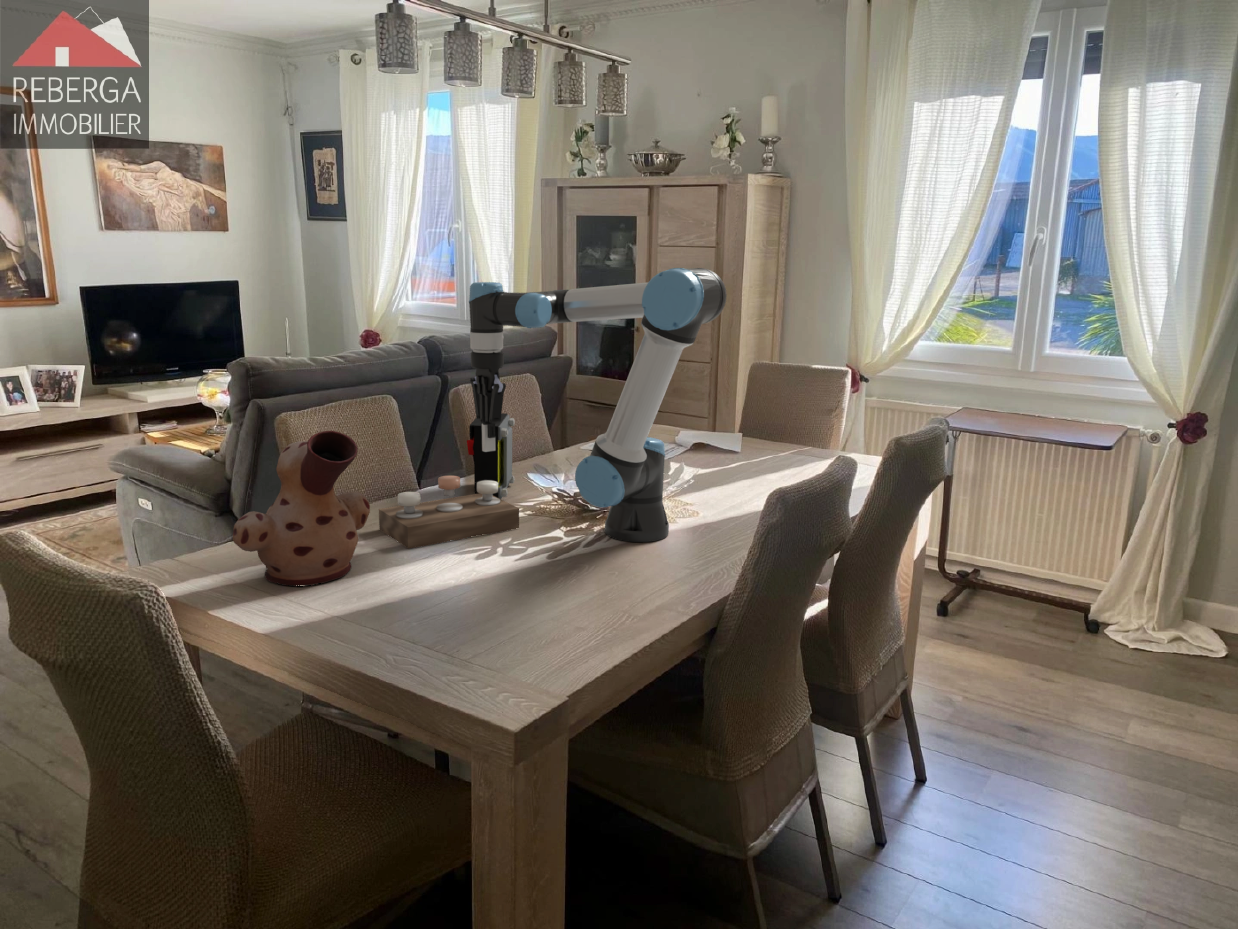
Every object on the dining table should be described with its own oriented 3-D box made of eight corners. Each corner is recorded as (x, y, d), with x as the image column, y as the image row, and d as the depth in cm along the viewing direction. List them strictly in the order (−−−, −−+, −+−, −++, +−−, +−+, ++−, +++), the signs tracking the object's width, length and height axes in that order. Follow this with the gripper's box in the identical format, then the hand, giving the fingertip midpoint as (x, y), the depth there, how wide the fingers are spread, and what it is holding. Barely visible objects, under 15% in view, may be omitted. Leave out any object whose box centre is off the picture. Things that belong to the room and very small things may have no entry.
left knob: (424, 512, 209) (424, 495, 208) (403, 516, 206) (403, 498, 205) (415, 507, 212) (414, 490, 212) (394, 510, 210) (394, 493, 209)
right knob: (501, 500, 220) (501, 484, 219) (483, 503, 217) (483, 486, 216) (491, 495, 224) (491, 479, 223) (473, 498, 221) (473, 482, 220)
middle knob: (464, 496, 214) (463, 479, 213) (444, 499, 211) (444, 482, 210) (454, 491, 218) (454, 474, 217) (434, 493, 215) (434, 477, 214)
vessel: (332, 545, 203) (326, 411, 196) (408, 566, 192) (404, 424, 185) (217, 584, 179) (205, 433, 171) (296, 610, 168) (287, 450, 160)
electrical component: (506, 502, 240) (506, 426, 235) (467, 500, 240) (466, 425, 235) (515, 484, 257) (515, 413, 252) (478, 483, 257) (478, 412, 252)
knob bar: (519, 528, 218) (519, 506, 217) (408, 548, 202) (407, 525, 201) (486, 511, 231) (486, 490, 229) (379, 529, 214) (378, 506, 213)
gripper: (515, 352, 209) (516, 453, 215) (487, 346, 220) (489, 443, 225) (486, 354, 205) (488, 457, 210) (459, 348, 215) (461, 447, 221)
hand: (488, 450), depth 218 cm, fingers closed
